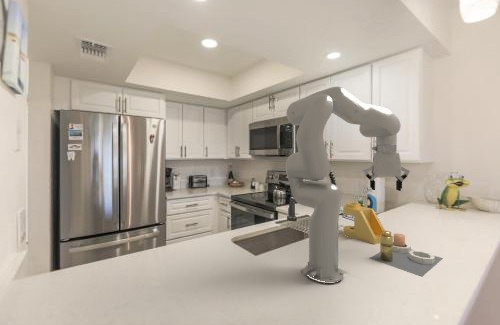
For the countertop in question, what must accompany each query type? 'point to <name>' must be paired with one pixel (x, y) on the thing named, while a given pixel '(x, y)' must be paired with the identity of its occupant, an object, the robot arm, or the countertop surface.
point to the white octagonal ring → (421, 257)
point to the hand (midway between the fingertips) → (385, 190)
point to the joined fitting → (400, 244)
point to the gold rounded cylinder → (386, 246)
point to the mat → (407, 263)
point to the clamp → (363, 223)
